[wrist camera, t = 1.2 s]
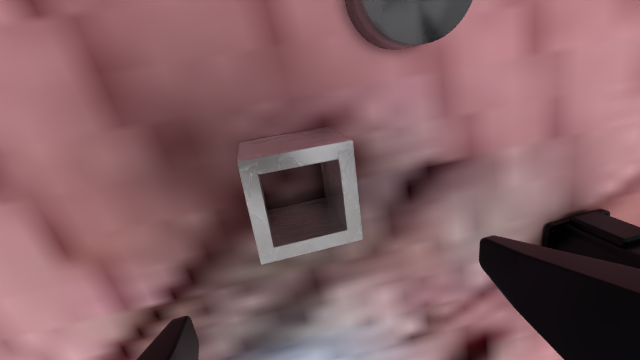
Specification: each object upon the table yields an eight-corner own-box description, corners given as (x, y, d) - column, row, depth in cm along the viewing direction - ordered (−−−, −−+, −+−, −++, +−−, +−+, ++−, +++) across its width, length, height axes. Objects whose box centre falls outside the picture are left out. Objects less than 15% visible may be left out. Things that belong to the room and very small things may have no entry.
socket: (337, 205, 21) (362, 239, 17) (257, 223, 20) (261, 264, 16) (327, 126, 19) (352, 140, 15) (239, 142, 19) (236, 161, 14)
